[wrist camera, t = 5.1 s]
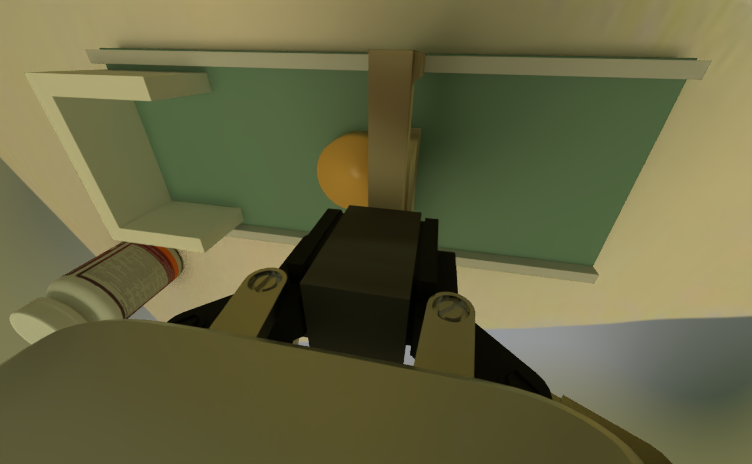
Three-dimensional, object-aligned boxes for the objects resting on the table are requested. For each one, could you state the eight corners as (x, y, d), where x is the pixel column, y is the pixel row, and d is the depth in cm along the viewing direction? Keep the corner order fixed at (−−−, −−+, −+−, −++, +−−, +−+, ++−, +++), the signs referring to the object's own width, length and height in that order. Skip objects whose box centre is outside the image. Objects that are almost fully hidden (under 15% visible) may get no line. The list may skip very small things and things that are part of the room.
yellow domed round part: (319, 135, 20) (308, 142, 19) (390, 126, 19) (384, 133, 17) (335, 200, 23) (326, 212, 21) (398, 197, 22) (394, 208, 20)
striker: (387, 52, 17) (262, 42, 5) (440, 53, 16) (436, 44, 5) (381, 253, 24) (323, 436, 12) (418, 258, 23) (393, 453, 12)
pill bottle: (145, 272, 34) (31, 354, 25) (123, 227, 31) (-17, 302, 22) (191, 280, 34) (91, 369, 24) (174, 235, 30) (51, 316, 21)
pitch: (119, 48, 22) (9, 45, 16) (677, 58, 16) (800, 58, 10) (181, 216, 29) (120, 253, 23) (580, 263, 23) (622, 328, 18)
